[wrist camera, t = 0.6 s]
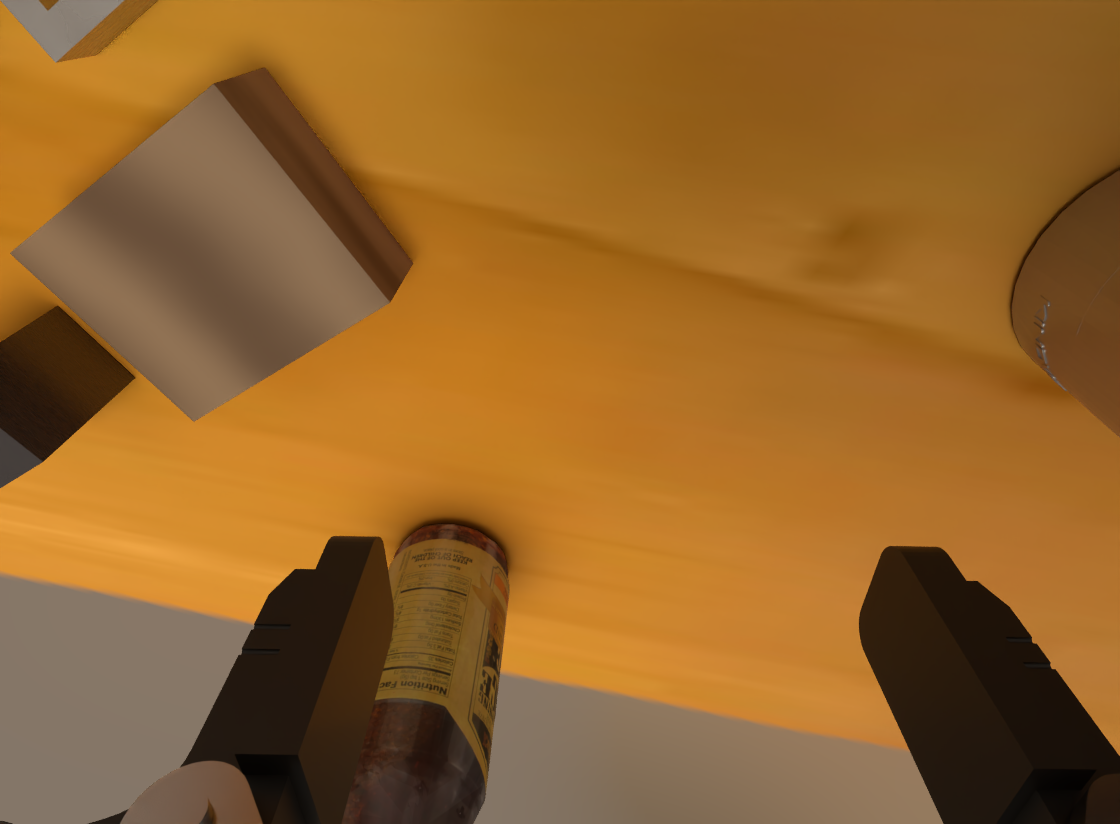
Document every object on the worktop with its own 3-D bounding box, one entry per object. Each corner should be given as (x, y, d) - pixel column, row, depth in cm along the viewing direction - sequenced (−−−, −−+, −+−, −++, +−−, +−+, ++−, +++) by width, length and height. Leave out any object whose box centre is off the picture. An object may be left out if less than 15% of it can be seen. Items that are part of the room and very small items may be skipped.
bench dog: (57, 306, 28) (-60, 380, 23) (135, 378, 29) (42, 461, 24) (-1, 347, 29) (-124, 427, 24) (77, 414, 31) (-22, 501, 26)
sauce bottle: (488, 611, 37) (410, 1120, 21) (381, 577, 36) (208, 1091, 20) (533, 534, 34) (481, 1072, 17) (416, 494, 33) (242, 1033, 16)
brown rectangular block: (268, 66, 23) (214, 83, 19) (415, 259, 26) (390, 302, 23) (84, 215, 26) (9, 253, 22) (238, 370, 29) (194, 421, 26)
